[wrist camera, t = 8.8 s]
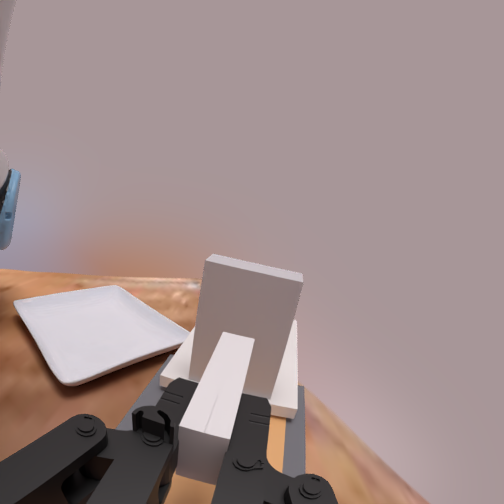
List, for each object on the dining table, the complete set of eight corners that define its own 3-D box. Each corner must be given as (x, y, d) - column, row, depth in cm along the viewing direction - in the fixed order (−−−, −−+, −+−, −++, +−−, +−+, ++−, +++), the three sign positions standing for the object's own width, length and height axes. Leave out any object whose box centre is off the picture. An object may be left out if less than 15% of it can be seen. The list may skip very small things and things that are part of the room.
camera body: (172, 409, 30) (179, 340, 28) (280, 436, 29) (304, 370, 27) (90, 556, 10) (55, 508, 8) (259, 605, 9) (302, 582, 7)
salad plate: (195, 353, 43) (198, 333, 42) (66, 406, 25) (62, 382, 24) (116, 299, 54) (116, 282, 53) (13, 319, 36) (10, 300, 35)
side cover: (211, 308, 36) (226, 225, 34) (294, 328, 35) (315, 245, 33) (159, 385, 20) (171, 254, 18) (293, 418, 20) (336, 291, 17)
